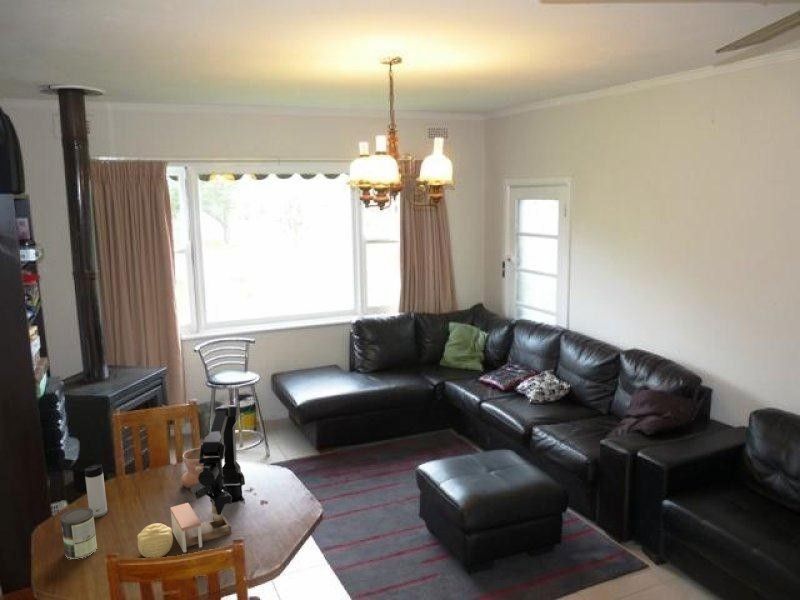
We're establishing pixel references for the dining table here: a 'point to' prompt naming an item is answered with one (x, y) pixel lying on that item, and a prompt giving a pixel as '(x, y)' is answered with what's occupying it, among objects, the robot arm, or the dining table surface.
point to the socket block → (208, 531)
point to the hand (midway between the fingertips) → (217, 512)
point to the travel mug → (96, 490)
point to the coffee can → (78, 533)
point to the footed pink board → (184, 523)
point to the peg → (214, 514)
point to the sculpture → (155, 540)
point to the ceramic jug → (192, 467)
